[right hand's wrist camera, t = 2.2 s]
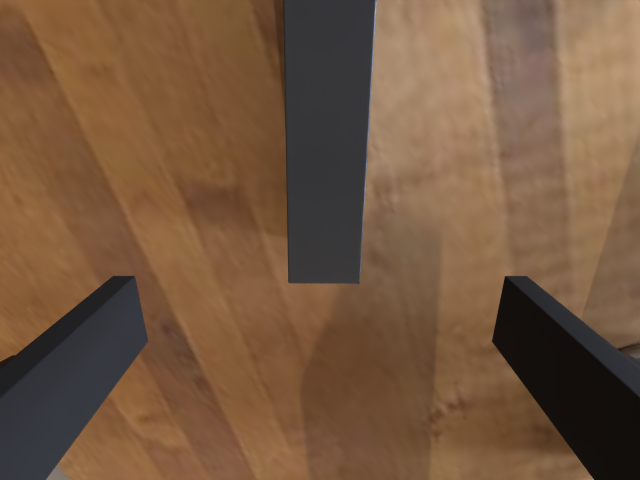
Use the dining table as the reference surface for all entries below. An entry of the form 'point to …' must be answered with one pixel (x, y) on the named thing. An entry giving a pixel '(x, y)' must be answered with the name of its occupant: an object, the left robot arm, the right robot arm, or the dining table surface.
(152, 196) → the dining table surface
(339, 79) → the beam
